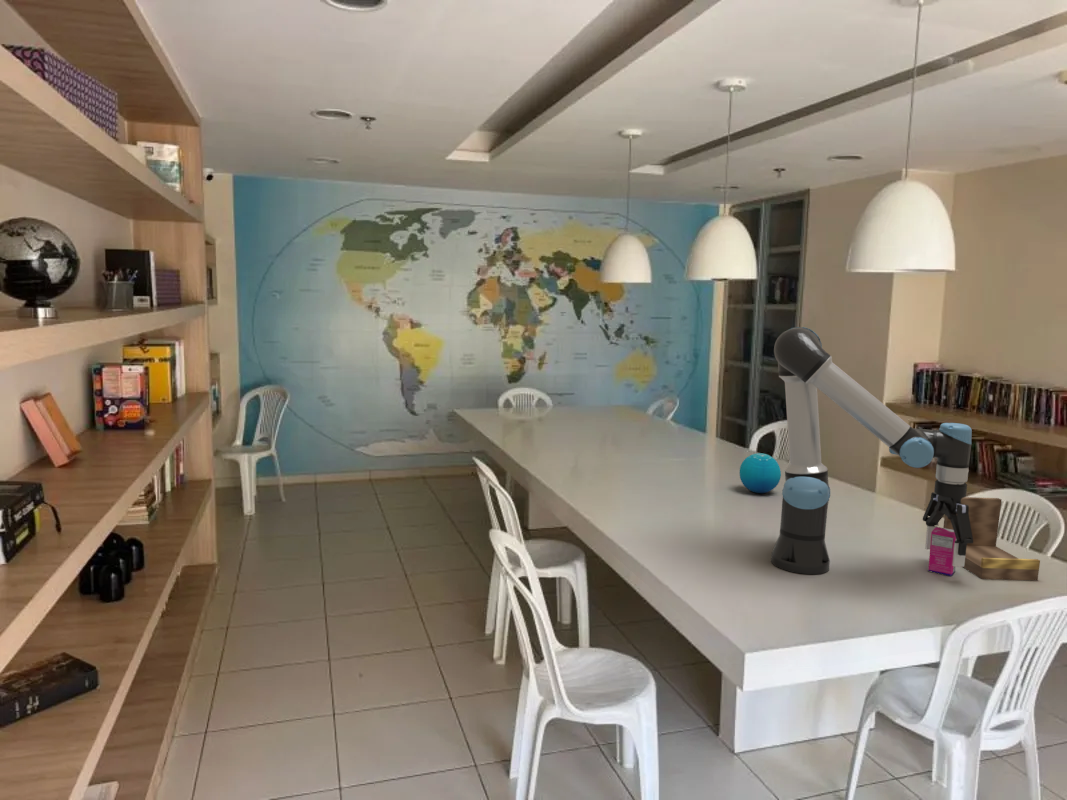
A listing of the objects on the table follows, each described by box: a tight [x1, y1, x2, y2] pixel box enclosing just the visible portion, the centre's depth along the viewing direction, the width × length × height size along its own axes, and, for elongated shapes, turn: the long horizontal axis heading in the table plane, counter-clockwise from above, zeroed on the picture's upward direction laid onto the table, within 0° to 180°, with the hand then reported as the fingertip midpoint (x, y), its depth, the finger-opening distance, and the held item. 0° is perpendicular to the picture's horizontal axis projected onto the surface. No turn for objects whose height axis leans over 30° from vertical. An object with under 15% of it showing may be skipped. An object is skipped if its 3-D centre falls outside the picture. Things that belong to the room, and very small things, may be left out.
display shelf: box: [942, 496, 1041, 581], centre depth 206 cm, size 15×20×17 cm
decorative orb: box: [739, 452, 782, 494], centre depth 279 cm, size 15×15×15 cm
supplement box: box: [927, 526, 957, 577], centre depth 202 cm, size 6×6×12 cm
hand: (944, 557), depth 202 cm, fingers open, 13 cm apart
